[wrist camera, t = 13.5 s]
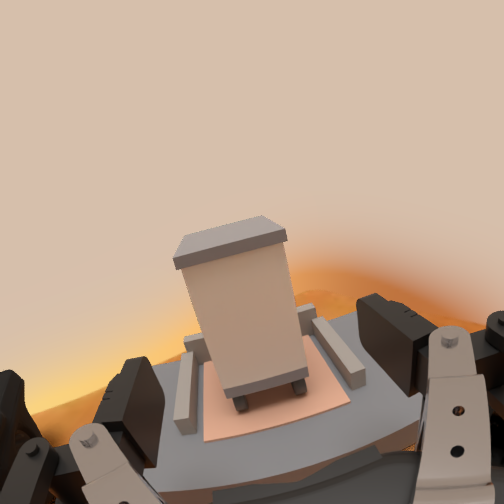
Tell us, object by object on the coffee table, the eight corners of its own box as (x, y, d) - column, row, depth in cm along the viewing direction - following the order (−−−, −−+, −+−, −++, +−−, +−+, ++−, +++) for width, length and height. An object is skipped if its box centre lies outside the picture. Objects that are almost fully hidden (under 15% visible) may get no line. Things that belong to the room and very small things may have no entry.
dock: (136, 510, 12) (92, 467, 10) (158, 387, 25) (137, 344, 24) (447, 423, 13) (461, 366, 12) (360, 332, 27) (356, 285, 25)
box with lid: (232, 421, 16) (172, 258, 14) (225, 366, 22) (184, 235, 20) (316, 398, 17) (285, 228, 14) (291, 348, 23) (262, 215, 20)
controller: (28, 540, 7) (-78, 436, 4) (30, 440, 17) (-27, 352, 15) (73, 535, 9) (-38, 428, 6) (63, 430, 19) (7, 338, 17)
